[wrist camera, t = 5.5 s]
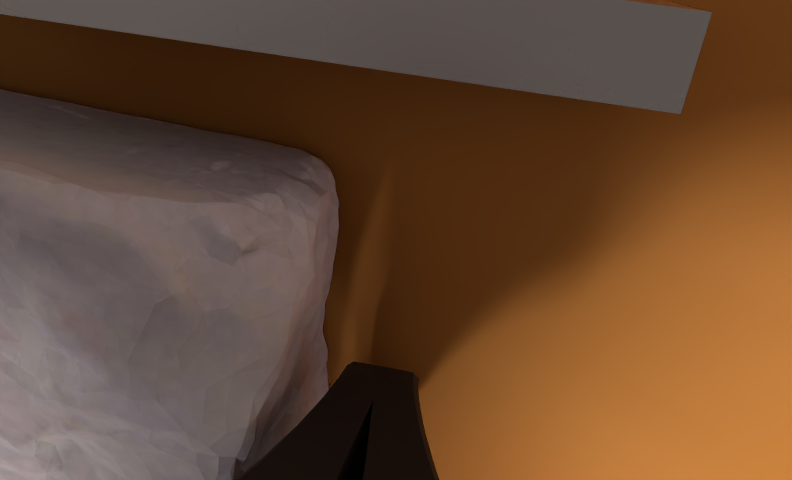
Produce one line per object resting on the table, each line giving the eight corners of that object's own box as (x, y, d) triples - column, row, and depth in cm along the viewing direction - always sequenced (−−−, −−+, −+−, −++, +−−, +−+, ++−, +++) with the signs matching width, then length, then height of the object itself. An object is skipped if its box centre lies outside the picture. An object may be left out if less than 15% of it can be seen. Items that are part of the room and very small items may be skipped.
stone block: (336, 462, 17) (371, 107, 11) (272, 665, 13) (269, 287, 7) (-78, 360, 18) (-256, -13, 12) (-254, 519, 14) (-648, 83, 8)
